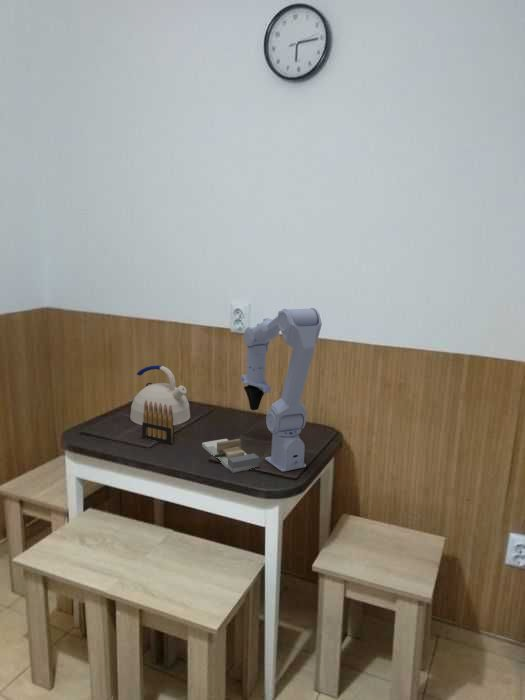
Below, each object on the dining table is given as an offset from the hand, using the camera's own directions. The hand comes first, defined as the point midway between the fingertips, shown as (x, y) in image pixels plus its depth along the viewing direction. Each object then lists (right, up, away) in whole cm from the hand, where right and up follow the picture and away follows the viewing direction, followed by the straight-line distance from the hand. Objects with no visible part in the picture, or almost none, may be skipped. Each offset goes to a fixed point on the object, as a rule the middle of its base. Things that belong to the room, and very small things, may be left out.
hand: (254, 409), depth 165 cm
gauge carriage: (-7, -11, -15) cm, 20 cm away
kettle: (-32, -5, +18) cm, 37 cm away
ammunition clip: (-29, -9, -3) cm, 31 cm away
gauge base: (-7, -12, -13) cm, 19 cm away
